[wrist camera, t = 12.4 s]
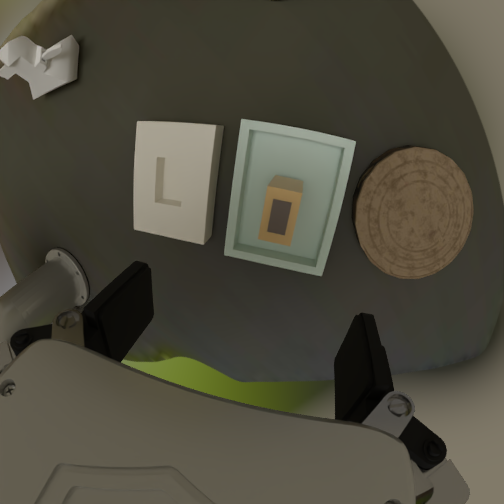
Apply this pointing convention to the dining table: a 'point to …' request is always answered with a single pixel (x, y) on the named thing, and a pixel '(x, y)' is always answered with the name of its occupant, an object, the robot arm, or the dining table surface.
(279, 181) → the tan rectangular block
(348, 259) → the dining table surface
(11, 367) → the robot arm
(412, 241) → the wood slice coaster
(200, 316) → the dining table surface
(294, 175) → the tray
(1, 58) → the white faceted figurine
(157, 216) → the block
